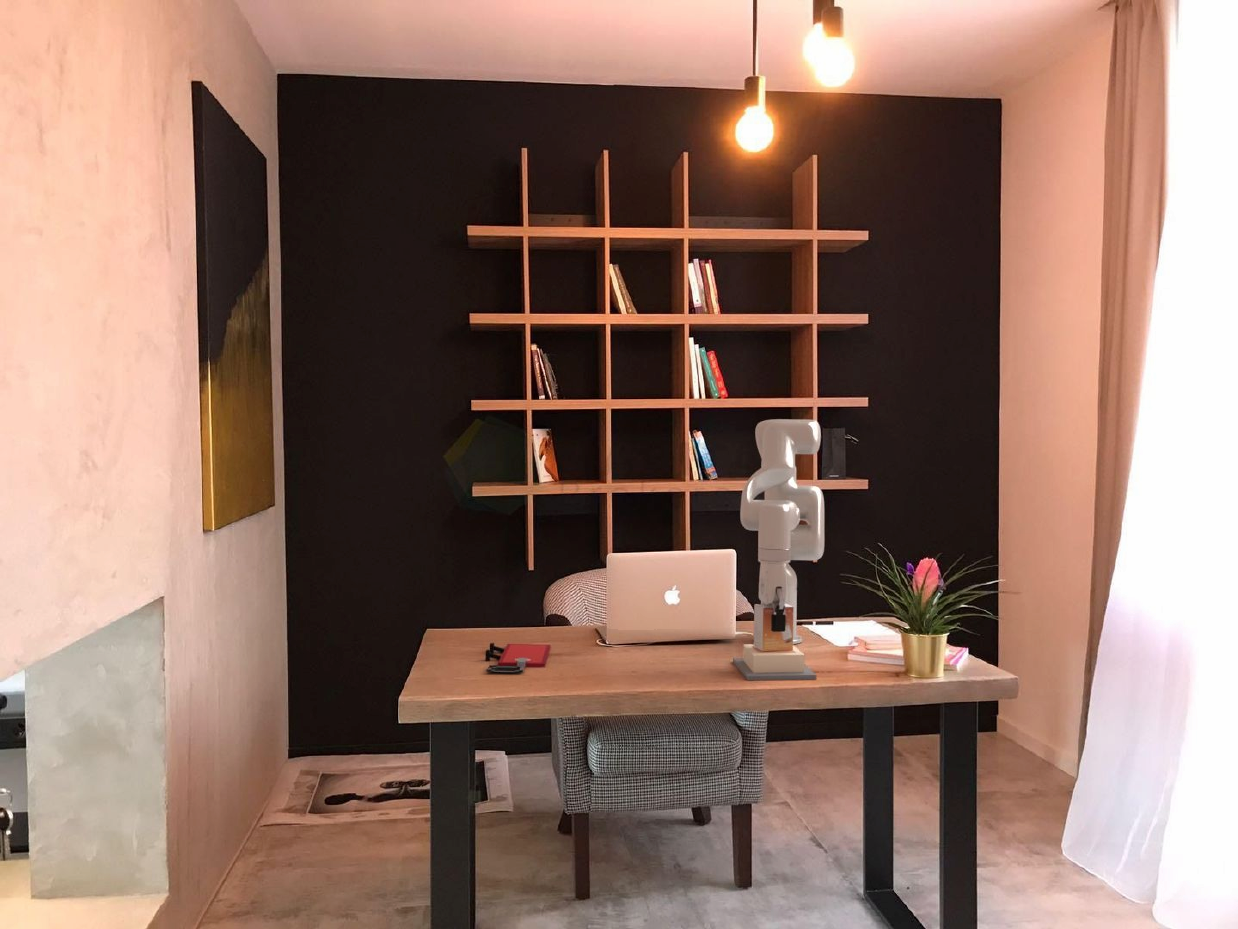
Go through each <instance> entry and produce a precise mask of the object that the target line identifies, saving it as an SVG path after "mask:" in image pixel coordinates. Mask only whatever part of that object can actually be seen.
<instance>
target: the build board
mask: <svg viewBox="0 0 1238 929" xmlns="http://www.w3.org/2000/svg"><path fill="white" fill-rule="evenodd" d="M742 656H743V657H733V658H732V663H733V662H734V663H733V664H734V665H735V666H736V668H737V669H738V670H739V672H740V673H741V674H742V676H745V677H744V678H745V679H746V680H747V681H787V680H789V681H790V680H791V681H792V680H795V681H796V680H799V681H802V680H803V681H804V680H817V674H816V673H815V672H814V671H813V670H811V668H810V667H808V666H807V665H806V663H805V662H806V661H805V659H806V656H805V654H804V653H803V651H801V650H800V649H799V648H798V647H797V646H795V644H793V650H792V651H761V650H759V649H757V648H755V647H754V643H753V644H752V643H751V644H749V643H748V644H747V643H746V644H743V655H742Z"/></svg>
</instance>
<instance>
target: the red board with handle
mask: <svg viewBox="0 0 1238 929" xmlns="http://www.w3.org/2000/svg"><path fill="white" fill-rule="evenodd" d="M550 650H551V644H529V643H525V644H524V643H523V644H522V643H519V644H518V643H507V645H506V646H505V648H503V647H500V646H495V642H490V643H489V649H486V650H485V659H484V660H485V661H484V662H490V661H491V659H494V660H497V661H498V662H497V665H496V664H493V665H492V664H491V665H490V664H489V665H488V668H487V669H486V672H489V673H490V672H491V673H492V672H493V673H494V672H497V673H499V672H500V673H523V671H524V669H525V668H546V663H547V660H548V656H549V652H550ZM495 651H496V652H498V653H500V655H499V654H496V653H495Z"/></svg>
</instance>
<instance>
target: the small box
mask: <svg viewBox="0 0 1238 929" xmlns="http://www.w3.org/2000/svg"><path fill="white" fill-rule="evenodd" d="M753 608H754V612H753V613H754V614H753V616H754V618H753V622H754V623H753V626H754V627H753V644H754V647H755V648H757V649H759V650H761V651H792V650H793V645H794V644H793V616H794V607H793V606H791V605H788V604H785V612H786V613H785V615H786V617H785V631H784V632H773V631H772V630H771V614H773V611H772V604H769V605H766V604H761V603H760V604H759V603H755V604H754V607H753ZM775 608H776V606H775Z"/></svg>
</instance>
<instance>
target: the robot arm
mask: <svg viewBox="0 0 1238 929" xmlns="http://www.w3.org/2000/svg"><path fill="white" fill-rule="evenodd" d="M754 432H755V434H754V435H755V442H756V446H757V449H758V452H759V455H760V459H761V461H760V462H761V466H760V467H761V468H759V469H758V470H756V471H755V472H754V473H753V474H752V475H751V476H750V478H748V480H747V481H746V483H745V484H744V487H743V489H742V493H741V499H740V500H741V501H740V513H739V514H740V515H739V516H740V523H741V525H742V527H744V528H743V529H745V530H748V531H754V532H755V531H758V533H757V534H758V538H757V539H758V544H757V545H758V548H757V550H758V552H757V553H758V554H757V557H758V558H757V561H758V562H759V563H760V565H759V578H758V579H759V581H758V599H759V600H760V604H766V605H769V604H772V611H773V614H771V630H772V631H773V632H784V631H785V617H786V615H785V613H786V612H785V604H788V605H791V606H793V607H794V616H793V645H796V644H800V643H802V641H803V637H802V636H801V635H799V634H798V633H797V616H798V615H797V607H798V606H797V604H798V603H797V601H798V600H797V596H798V594H797V593H798V590H797V588H798V579H797V574H796V571H795V570H794V569H793V567H791V565H790V564H789V563H791V561H817V560H819V559H822V557H823V555H824V552H825V500H824V499H825V498H824V494H823V491H822V489H821V488H820V487H818V486H815V485H811V484H810V485H806V484H803V485H802V484H797V466H796V455H815V454H816V453H818V452H819V450H820V446H821V439H822V435H821V434H822V433H821V426H820V424H819V422H818V421H817V420H815V419H788V418H787V419H785V418H784V419H783V418H782V419H781V418H778V419H777V418H776V419H766V420H763V421H760V422H758V423H757V425H756V427H755V431H754ZM762 493H764V499H755V498H756V497H757V496H758V495H759V494H762ZM800 521H804V522H806V523H807V524H799V523H800ZM775 606H776V608H775Z"/></svg>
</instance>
